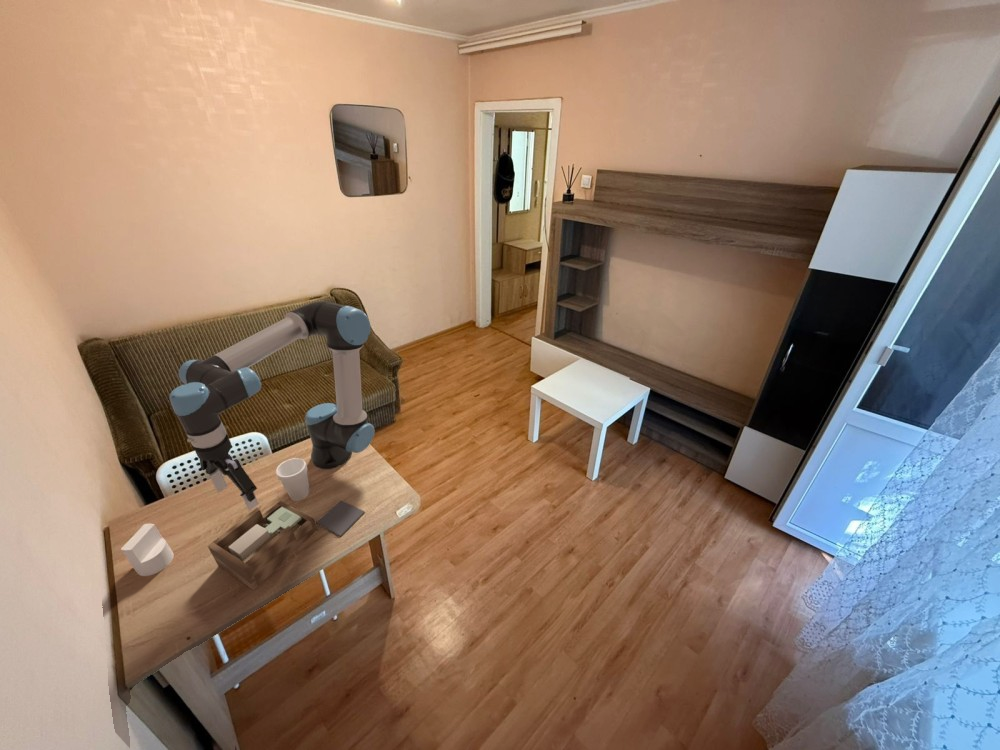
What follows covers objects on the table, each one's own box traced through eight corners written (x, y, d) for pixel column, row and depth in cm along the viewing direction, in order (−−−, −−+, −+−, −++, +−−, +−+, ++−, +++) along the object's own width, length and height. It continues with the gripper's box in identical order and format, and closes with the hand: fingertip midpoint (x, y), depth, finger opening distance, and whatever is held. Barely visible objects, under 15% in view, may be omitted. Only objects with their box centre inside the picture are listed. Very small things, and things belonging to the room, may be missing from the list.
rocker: (282, 508, 134) (281, 504, 133) (301, 518, 131) (300, 515, 130) (226, 554, 119) (224, 550, 118) (246, 567, 116) (244, 563, 115)
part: (259, 530, 125) (256, 523, 124) (270, 536, 124) (267, 530, 122) (231, 553, 119) (228, 546, 117) (242, 560, 117) (239, 554, 115)
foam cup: (303, 506, 142) (294, 479, 135) (279, 501, 143) (269, 474, 137) (319, 486, 150) (311, 460, 143) (296, 482, 151) (287, 456, 145)
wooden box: (284, 511, 140) (277, 492, 135) (318, 529, 134) (311, 510, 129) (218, 566, 122) (207, 546, 117) (253, 590, 116) (243, 569, 111)
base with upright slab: (152, 548, 127) (135, 522, 121) (180, 549, 127) (165, 524, 120) (128, 575, 119) (109, 549, 113) (158, 576, 119) (141, 550, 113)
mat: (341, 500, 144) (340, 499, 144) (364, 512, 140) (364, 511, 140) (316, 523, 136) (316, 522, 135) (340, 536, 132) (340, 535, 131)
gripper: (165, 433, 105) (197, 490, 116) (226, 465, 95) (254, 524, 106) (195, 417, 111) (222, 473, 122) (256, 446, 101) (279, 504, 112)
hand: (237, 497), depth 114 cm, fingers open, 13 cm apart
